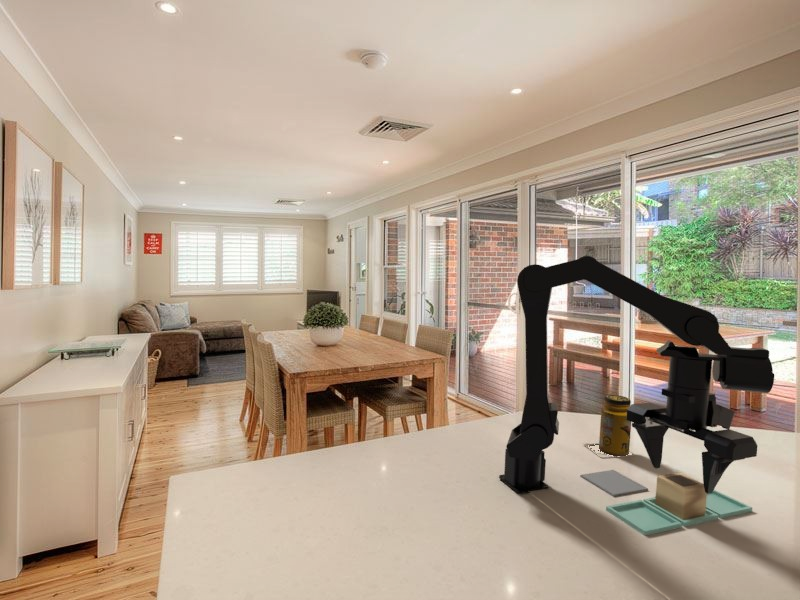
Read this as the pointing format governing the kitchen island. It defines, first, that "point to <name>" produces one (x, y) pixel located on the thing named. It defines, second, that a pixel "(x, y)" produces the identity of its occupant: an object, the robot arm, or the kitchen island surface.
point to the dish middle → (708, 517)
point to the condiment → (614, 427)
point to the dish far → (725, 505)
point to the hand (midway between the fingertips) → (681, 479)
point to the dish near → (643, 517)
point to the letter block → (681, 496)
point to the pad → (613, 483)
